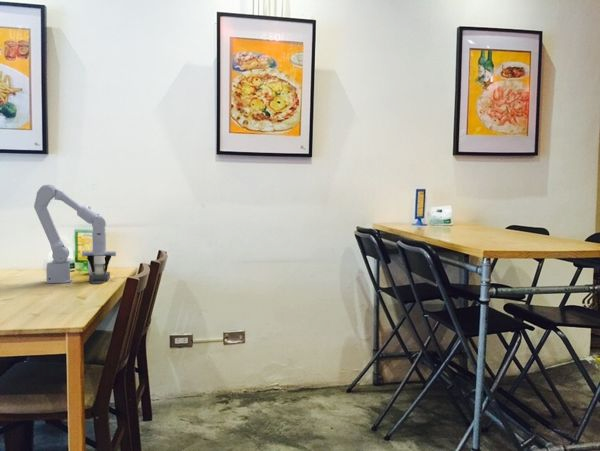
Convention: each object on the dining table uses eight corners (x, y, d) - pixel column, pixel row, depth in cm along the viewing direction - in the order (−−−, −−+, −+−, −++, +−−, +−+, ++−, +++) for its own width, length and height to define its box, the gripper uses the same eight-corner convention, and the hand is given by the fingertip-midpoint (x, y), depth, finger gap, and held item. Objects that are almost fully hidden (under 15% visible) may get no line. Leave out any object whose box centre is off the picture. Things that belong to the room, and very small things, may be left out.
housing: (89, 281, 231) (88, 275, 231) (91, 278, 239) (91, 272, 238) (107, 281, 233) (107, 274, 233) (109, 277, 240) (109, 271, 240)
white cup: (87, 272, 253) (86, 252, 252) (103, 271, 256) (103, 252, 256) (87, 275, 246) (87, 255, 245) (105, 274, 249) (104, 254, 248)
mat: (89, 284, 225) (89, 283, 225) (91, 281, 231) (91, 280, 231) (103, 284, 226) (103, 283, 226) (105, 281, 232) (105, 280, 232)
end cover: (93, 281, 233) (92, 265, 232) (94, 278, 237) (94, 263, 237) (104, 280, 234) (104, 264, 233) (106, 278, 239) (105, 263, 238)
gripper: (80, 243, 229) (81, 273, 230) (114, 243, 232) (115, 272, 233) (83, 242, 235) (83, 270, 237) (116, 241, 239) (116, 270, 240)
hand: (99, 271), depth 235 cm, fingers closed on end cover, 5 cm apart
